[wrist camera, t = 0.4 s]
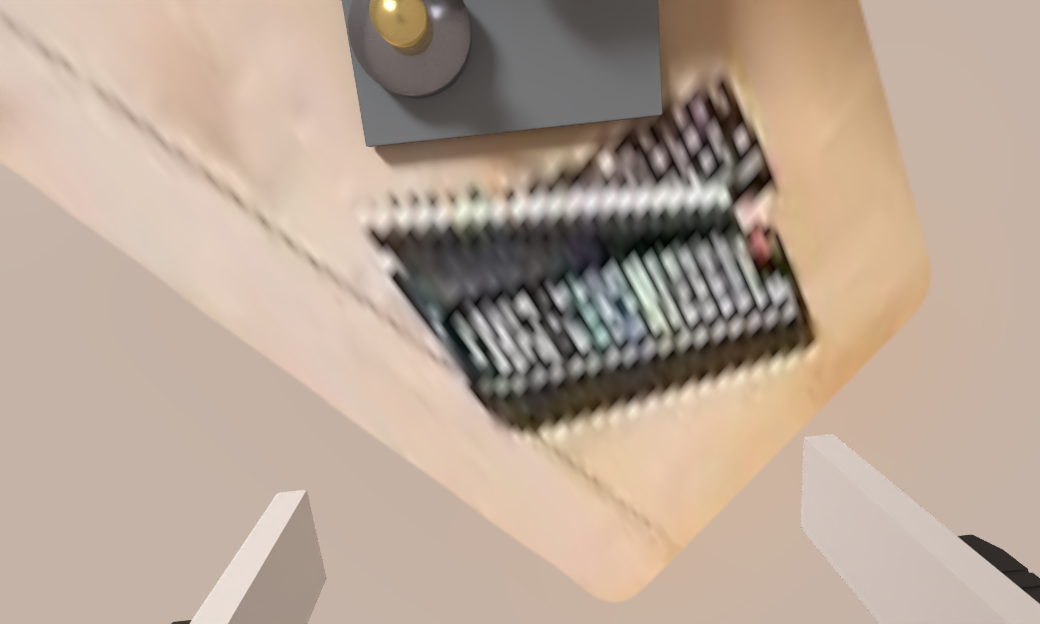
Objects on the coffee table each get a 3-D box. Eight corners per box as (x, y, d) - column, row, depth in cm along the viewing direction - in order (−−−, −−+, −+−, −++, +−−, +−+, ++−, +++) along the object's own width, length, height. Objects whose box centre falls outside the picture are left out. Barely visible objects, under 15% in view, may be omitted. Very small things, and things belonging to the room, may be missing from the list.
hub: (347, -20, 34) (314, -59, 28) (464, -33, 34) (456, -74, 28) (367, 104, 35) (341, 91, 30) (478, 92, 35) (474, 77, 30)
